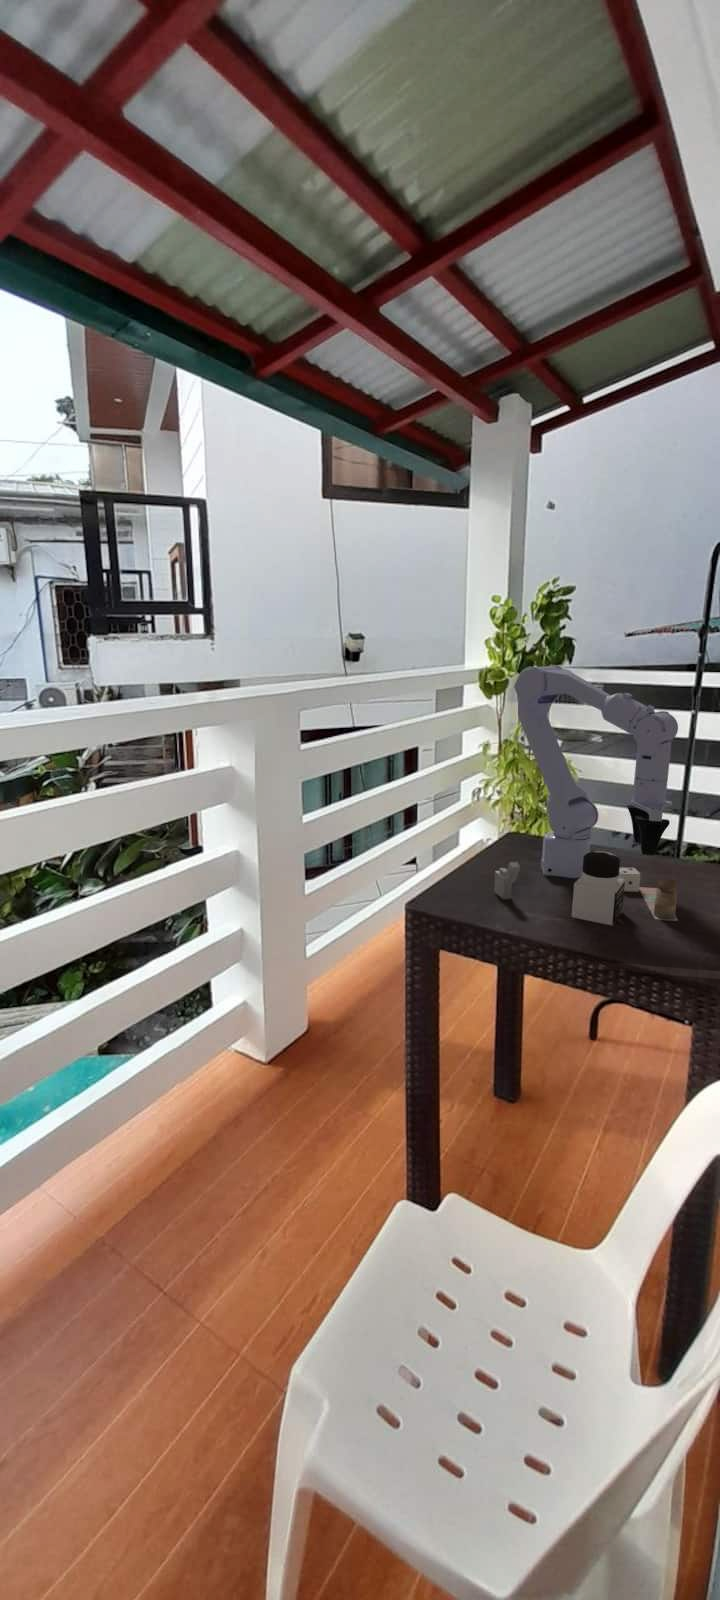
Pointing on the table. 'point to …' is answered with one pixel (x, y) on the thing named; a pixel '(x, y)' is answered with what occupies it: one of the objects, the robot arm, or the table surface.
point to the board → (651, 900)
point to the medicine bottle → (599, 889)
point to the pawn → (665, 899)
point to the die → (630, 878)
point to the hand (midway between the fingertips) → (644, 848)
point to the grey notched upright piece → (506, 880)
